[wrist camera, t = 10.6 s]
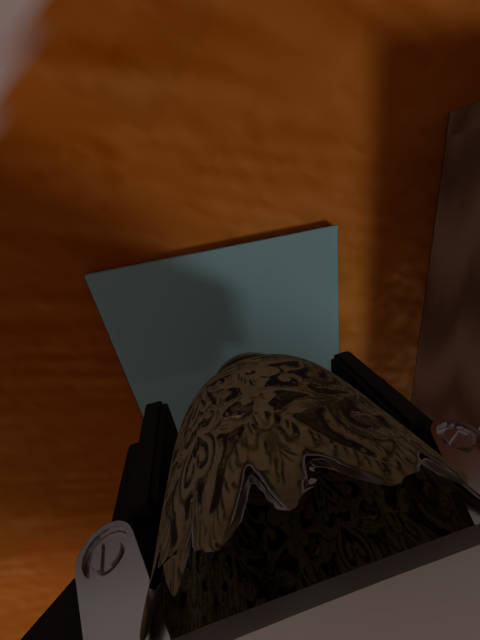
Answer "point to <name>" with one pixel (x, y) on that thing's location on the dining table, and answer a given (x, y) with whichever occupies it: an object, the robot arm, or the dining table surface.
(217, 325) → the light blue square plate
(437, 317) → the grey square frame
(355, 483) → the dark rounded piece
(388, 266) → the dining table surface
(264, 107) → the dining table surface
